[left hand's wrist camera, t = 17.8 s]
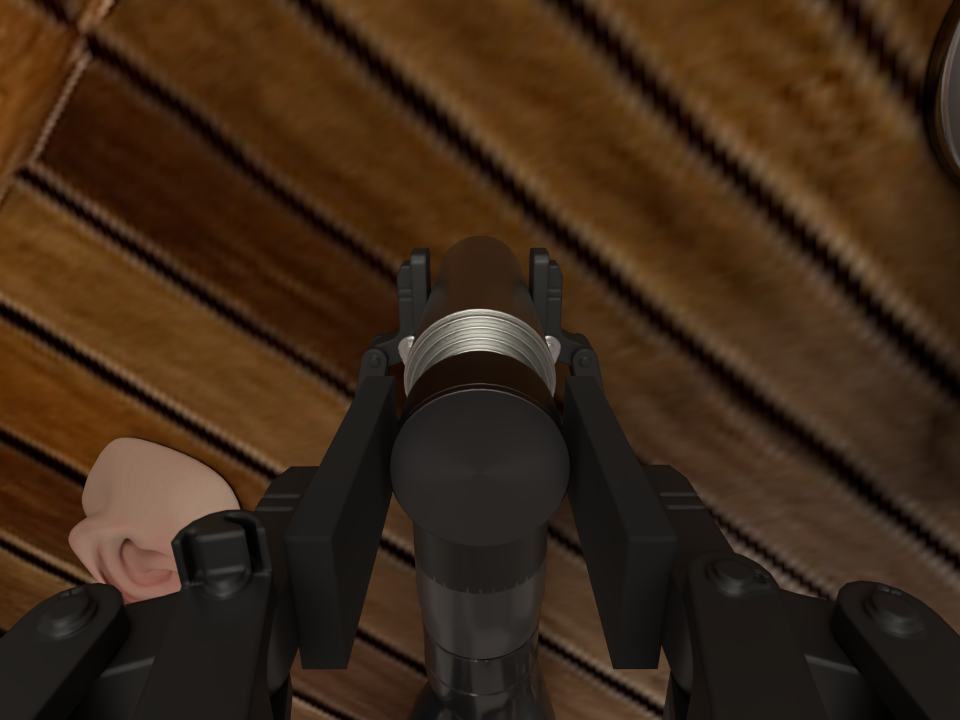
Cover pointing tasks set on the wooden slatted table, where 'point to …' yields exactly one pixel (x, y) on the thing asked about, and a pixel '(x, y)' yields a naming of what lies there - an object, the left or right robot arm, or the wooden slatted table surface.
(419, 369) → the bottle
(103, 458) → the anatomical model
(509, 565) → the right robot arm
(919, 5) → the wooden slatted table surface
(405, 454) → the cap
